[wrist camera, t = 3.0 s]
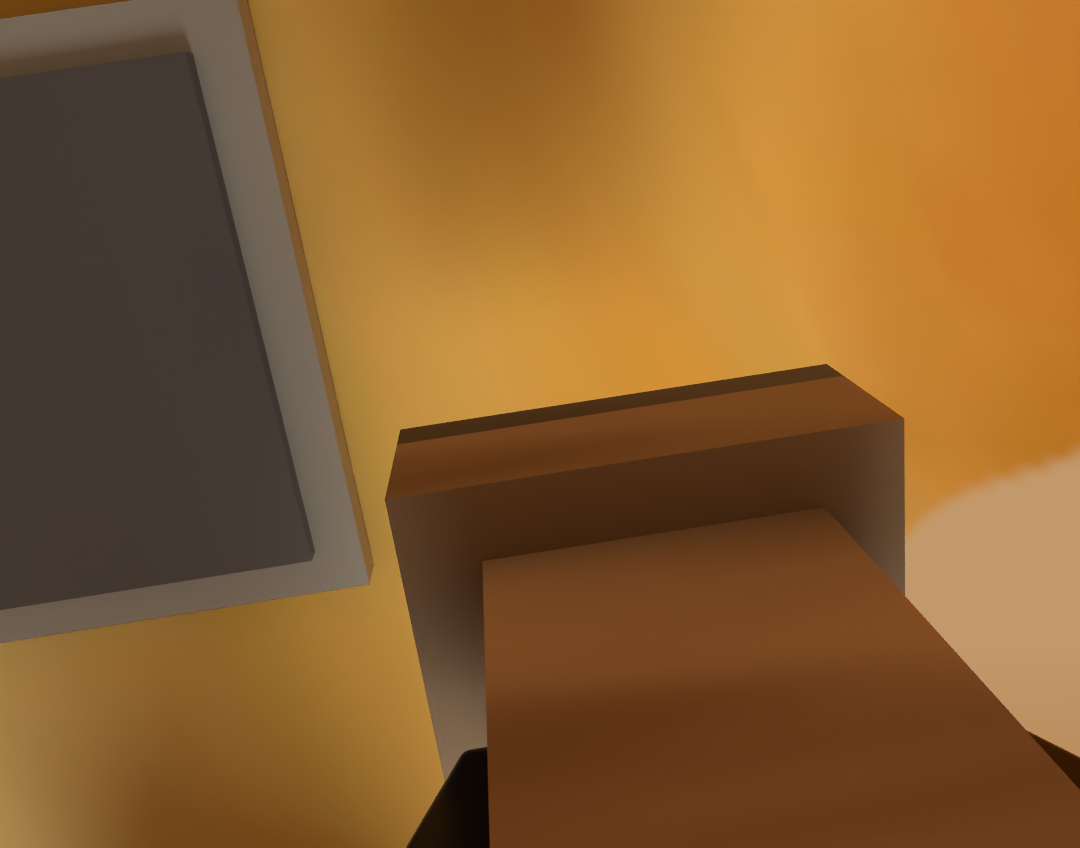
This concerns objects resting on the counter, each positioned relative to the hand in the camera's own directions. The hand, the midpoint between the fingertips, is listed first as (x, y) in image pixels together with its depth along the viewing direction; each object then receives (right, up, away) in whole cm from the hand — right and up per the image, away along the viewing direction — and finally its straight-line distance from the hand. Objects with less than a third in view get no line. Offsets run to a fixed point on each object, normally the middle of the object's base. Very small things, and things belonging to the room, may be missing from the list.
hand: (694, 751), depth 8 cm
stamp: (0, +1, +3) cm, 3 cm away
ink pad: (-11, +4, +9) cm, 15 cm away
